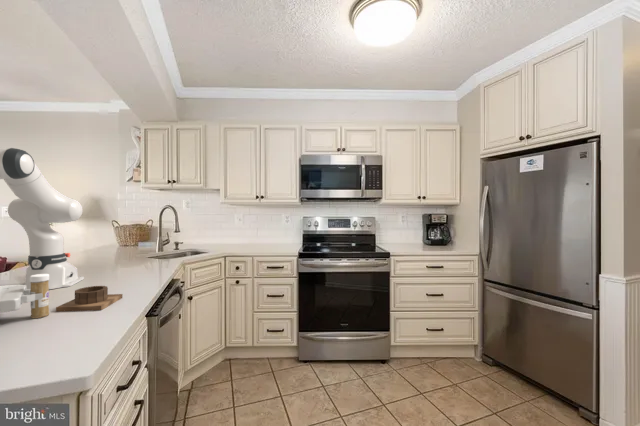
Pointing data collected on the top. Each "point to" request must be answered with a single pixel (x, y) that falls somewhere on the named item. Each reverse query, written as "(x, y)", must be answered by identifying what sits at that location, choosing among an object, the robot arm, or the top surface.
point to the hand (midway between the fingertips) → (43, 293)
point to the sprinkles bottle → (40, 286)
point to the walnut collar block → (90, 299)
